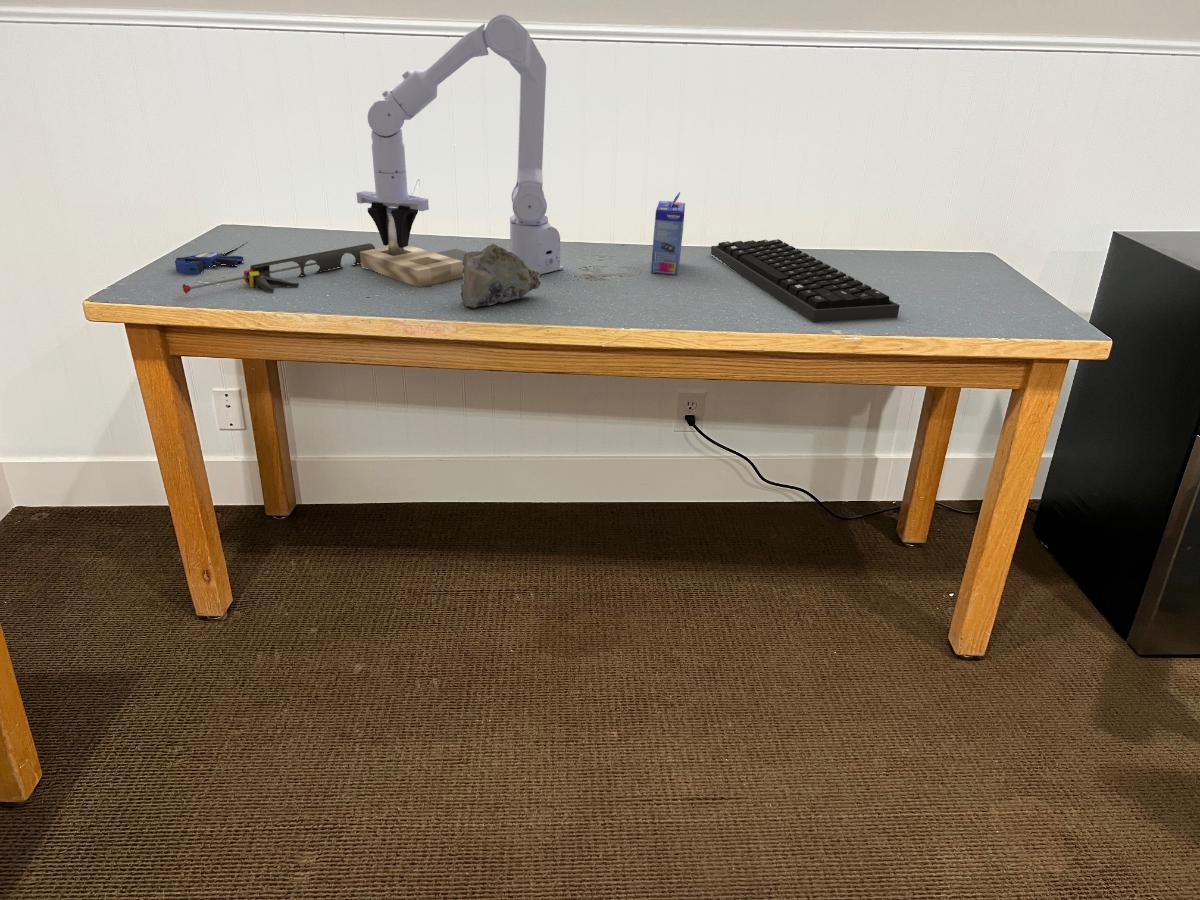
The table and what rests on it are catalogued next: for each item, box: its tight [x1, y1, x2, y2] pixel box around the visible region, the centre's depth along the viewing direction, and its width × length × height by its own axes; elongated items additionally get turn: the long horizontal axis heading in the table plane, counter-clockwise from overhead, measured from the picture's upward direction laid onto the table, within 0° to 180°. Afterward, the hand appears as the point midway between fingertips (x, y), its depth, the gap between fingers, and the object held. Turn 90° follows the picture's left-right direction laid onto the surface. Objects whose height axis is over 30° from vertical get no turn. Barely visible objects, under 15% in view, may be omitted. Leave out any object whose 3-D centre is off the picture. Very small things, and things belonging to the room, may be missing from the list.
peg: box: [386, 206, 405, 256], centre depth 163 cm, size 3×3×10 cm
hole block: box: [360, 244, 464, 288], centre depth 162 cm, size 18×10×3 cm, turn 47°
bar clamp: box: [174, 252, 245, 275], centre depth 171 cm, size 32×2×10 cm
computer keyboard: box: [710, 238, 900, 324], centre depth 163 cm, size 45×16×4 cm, turn 15°
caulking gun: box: [182, 242, 376, 295], centre depth 156 cm, size 4×37×10 cm
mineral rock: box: [460, 243, 541, 309], centre depth 145 cm, size 13×11×10 cm
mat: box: [436, 248, 467, 266], centre depth 172 cm, size 10×10×1 cm
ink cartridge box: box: [650, 191, 686, 276], centre depth 168 cm, size 10×6×14 cm, turn 173°
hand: (395, 245), depth 163 cm, fingers closed on peg, 3 cm apart
